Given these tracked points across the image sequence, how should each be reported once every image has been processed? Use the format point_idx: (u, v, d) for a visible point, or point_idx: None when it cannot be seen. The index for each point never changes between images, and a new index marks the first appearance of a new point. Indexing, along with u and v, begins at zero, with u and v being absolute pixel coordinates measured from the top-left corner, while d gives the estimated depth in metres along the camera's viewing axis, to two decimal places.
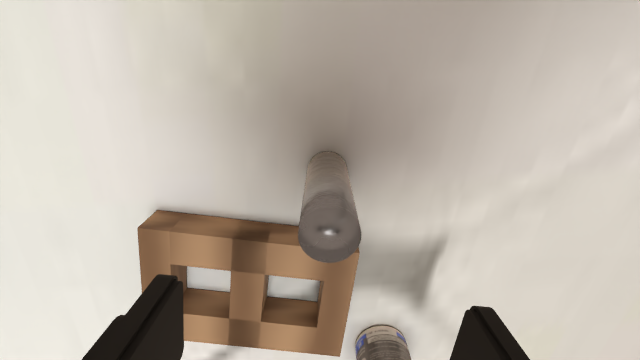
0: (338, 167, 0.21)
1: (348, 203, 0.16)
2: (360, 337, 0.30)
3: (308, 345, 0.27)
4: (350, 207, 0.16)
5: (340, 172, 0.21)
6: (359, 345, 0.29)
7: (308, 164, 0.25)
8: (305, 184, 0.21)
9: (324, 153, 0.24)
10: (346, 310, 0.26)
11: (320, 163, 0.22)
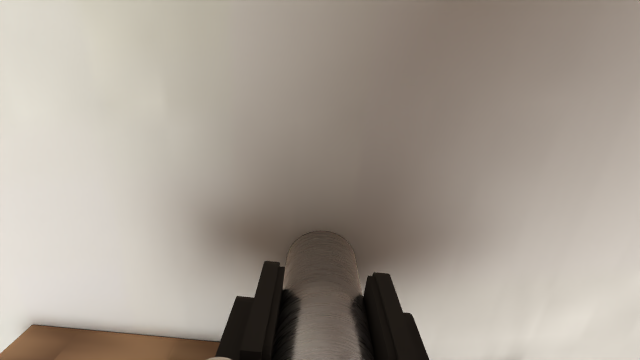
0: (343, 285, 0.11)
1: None
2: None
3: None
4: None
5: (347, 304, 0.10)
6: None
7: (288, 252, 0.14)
8: None
9: (315, 237, 0.13)
10: None
11: (307, 272, 0.11)
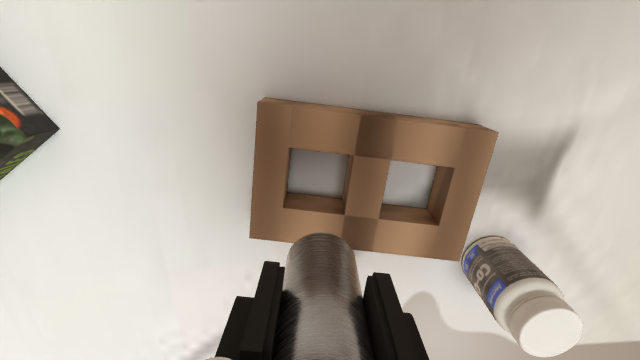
0: (342, 287, 0.11)
1: None
2: (470, 249, 0.28)
3: (427, 248, 0.25)
4: None
5: (347, 307, 0.10)
6: (471, 256, 0.27)
7: (288, 254, 0.14)
8: None
9: (315, 239, 0.13)
10: (474, 204, 0.24)
11: (307, 274, 0.11)
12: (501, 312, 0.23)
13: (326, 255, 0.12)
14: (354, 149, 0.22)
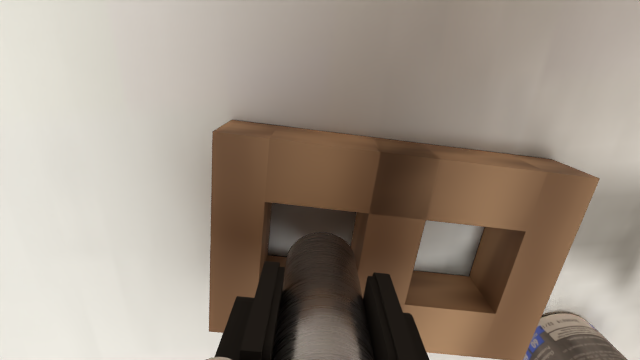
0: (342, 287, 0.11)
1: None
2: None
3: (476, 344, 0.17)
4: None
5: (347, 306, 0.10)
6: (533, 343, 0.19)
7: (288, 254, 0.14)
8: None
9: (315, 239, 0.13)
10: (551, 283, 0.15)
11: (307, 274, 0.11)
12: None
13: (326, 255, 0.12)
14: (369, 204, 0.14)
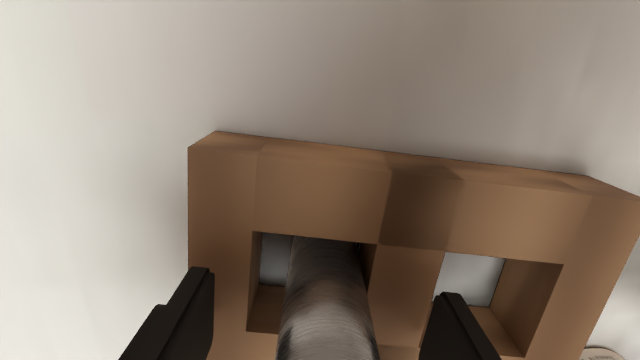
0: (345, 266, 0.12)
1: None
2: None
3: None
4: None
5: (349, 282, 0.11)
6: None
7: (293, 240, 0.15)
8: (283, 303, 0.11)
9: None
10: (591, 323, 0.13)
11: (312, 255, 0.12)
12: None
13: (329, 239, 0.13)
14: (378, 233, 0.12)
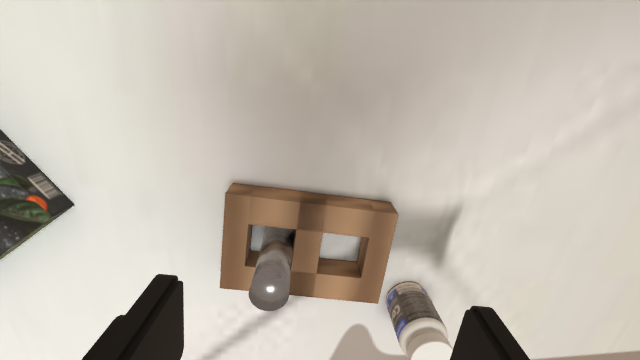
0: (283, 237, 0.31)
1: (282, 271, 0.26)
2: (391, 292, 0.36)
3: (353, 294, 0.33)
4: (283, 275, 0.25)
5: (284, 242, 0.30)
6: (391, 297, 0.36)
7: None
8: (260, 250, 0.30)
9: None
10: (385, 262, 0.32)
11: (271, 234, 0.31)
12: (402, 343, 0.31)
13: (279, 228, 0.32)
14: (296, 225, 0.31)
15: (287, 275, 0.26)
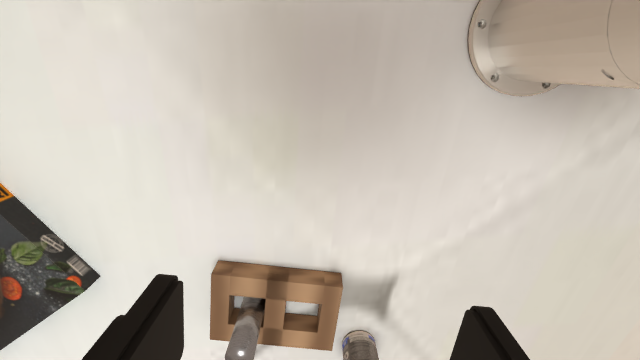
0: (256, 305, 0.41)
1: (249, 340, 0.36)
2: (345, 338, 0.46)
3: (312, 344, 0.43)
4: (249, 343, 0.35)
5: (255, 310, 0.40)
6: (344, 344, 0.46)
7: None
8: None
9: None
10: (335, 321, 0.42)
11: (247, 301, 0.41)
12: None
13: None
14: (265, 295, 0.41)
15: (253, 342, 0.36)
